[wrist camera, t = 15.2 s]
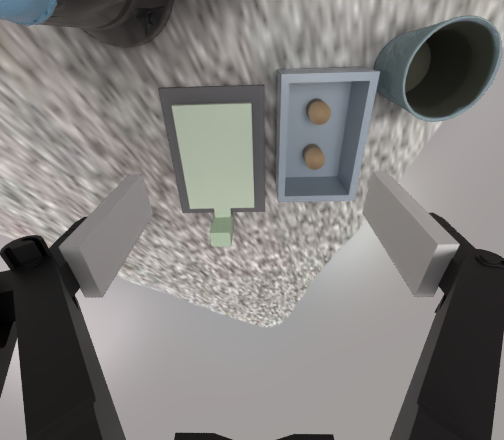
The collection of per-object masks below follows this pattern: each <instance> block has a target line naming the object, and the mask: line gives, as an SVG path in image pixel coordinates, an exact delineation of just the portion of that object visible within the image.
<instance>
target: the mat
mask: <svg viewBox="0 0 504 440" xmlns="http://www.w3.org/2000/svg"><path fill="white" fill-rule="evenodd" d="M158 90H159V95H160V100H161V105H162V110H163V115H164V120H165V125H166V131H167V136H168V141H169V146H170V151H171V156H172V161H173V166H174V171H175V176H176V181H177V186H178V191H179V196H180V201H181V206H182V212H183V213H205V212H214V208H210V209H190V206H189V200H188V195H187V189H186V184H185V178H184V173H183V167H182V161H181V156H180V150H179V145H178V139H177V134H176V128H175V123H174V117H173V111H172V105H174V104H208V103H243V102H251V105H252V140H253V175H254V208H231V212H265V156H264V85H238V86H204V87H171V88H159V89H158Z"/></svg>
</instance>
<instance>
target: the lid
mask: <svg viewBox="0 0 504 440" xmlns="http://www.w3.org/2000/svg"><path fill="white" fill-rule="evenodd" d="M172 111H173V117H174V123H175V128H176V134H177V139H178V145H179V150H180V156H181V161H182V167H183V173H184V178H185V184H186V189H187V195H188V200H189V206H190V209H210V208H214V212H215V215H214V219H213V223H212V227H211V231H210V237H211V244H212V246H231V244H232V236H233V228H234V226H233V214H231V208H254V175H253V140H252V105H251V102H243V103H208V104H174V105H172Z"/></svg>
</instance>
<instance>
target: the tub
mask: <svg viewBox="0 0 504 440" xmlns="http://www.w3.org/2000/svg"><path fill="white" fill-rule="evenodd" d="M379 75H380V71H376V70H372V69H367V68H363V67H335V68H303V69H278V71H277V122H276V173H275V182H276V190H277V197H278V202H307V201H354V199H355V194H356V189H357V184H358V179H359V174H360V169H361V164H362V159H363V154H364V149H365V144H366V139H367V134H368V129H369V124H370V119H371V114H372V109H373V104H374V99H375V95H376V90H377V85H378V80H379ZM315 98H319V99H321V100H323V101H324V102H325V103H326V104H327V105H328V106H329V107H330V109H331V117H330V119H329V120H328V121H327V122H326V123H325V124H322V125H316V124H314V123H313V122H312V121H311V119H310V118H309V117H308V115H307V113H306V106H307V104H308V103H309V101H311V100H312V99H315ZM309 144H316V145H318V146H319V148H320V149H321V151H322V153H323V154H324V156H325V164H324V165H323V166H322V167H321V168H320V169H317V170H312V169H310V168H309V167H308V166H307V164H306V162H305V159H304V157H303V149H304V148H305V147H306V146H307V145H309Z"/></svg>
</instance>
